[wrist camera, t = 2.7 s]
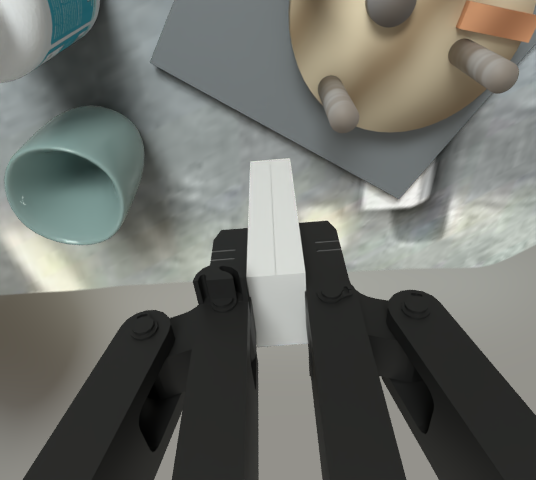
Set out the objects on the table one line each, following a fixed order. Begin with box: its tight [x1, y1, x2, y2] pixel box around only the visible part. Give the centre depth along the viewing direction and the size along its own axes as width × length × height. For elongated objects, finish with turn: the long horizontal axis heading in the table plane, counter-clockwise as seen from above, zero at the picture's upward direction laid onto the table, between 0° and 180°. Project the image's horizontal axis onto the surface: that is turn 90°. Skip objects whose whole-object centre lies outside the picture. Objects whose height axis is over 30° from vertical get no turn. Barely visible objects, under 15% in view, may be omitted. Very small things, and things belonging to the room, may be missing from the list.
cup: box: [4, 106, 145, 245], centre depth 32 cm, size 8×8×10 cm
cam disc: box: [288, 0, 536, 133], centre depth 26 cm, size 17×16×8 cm
